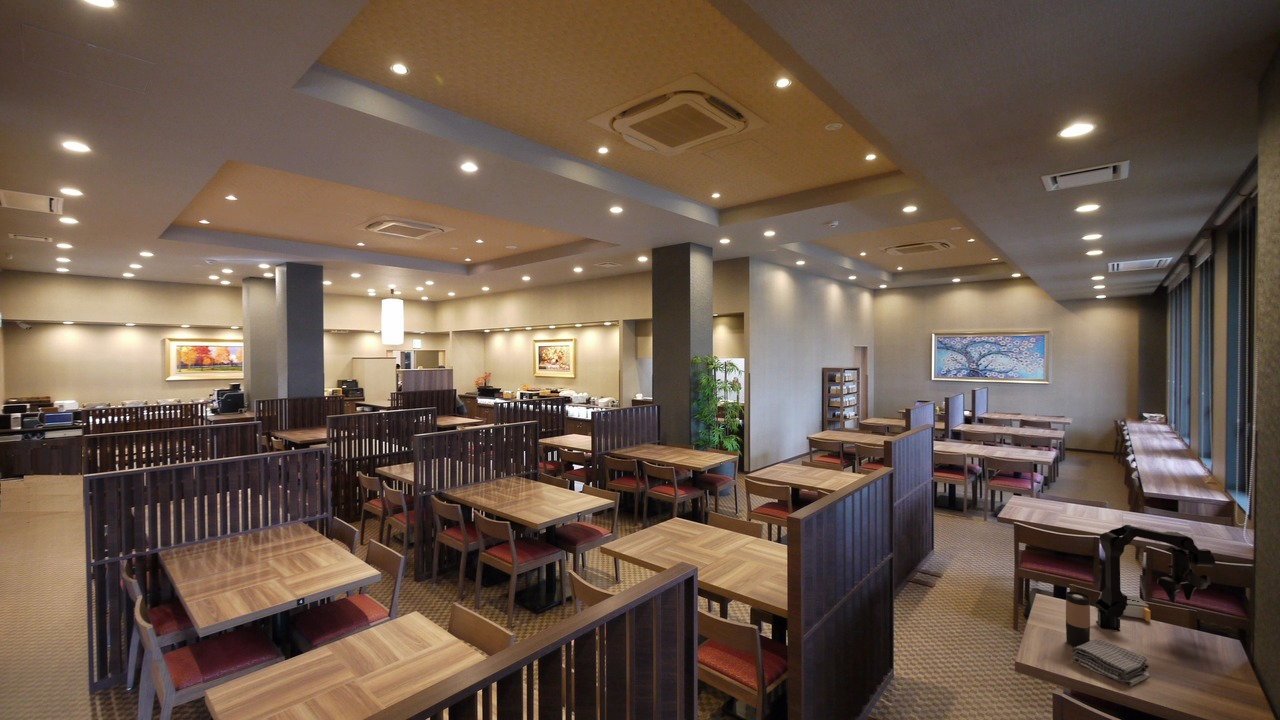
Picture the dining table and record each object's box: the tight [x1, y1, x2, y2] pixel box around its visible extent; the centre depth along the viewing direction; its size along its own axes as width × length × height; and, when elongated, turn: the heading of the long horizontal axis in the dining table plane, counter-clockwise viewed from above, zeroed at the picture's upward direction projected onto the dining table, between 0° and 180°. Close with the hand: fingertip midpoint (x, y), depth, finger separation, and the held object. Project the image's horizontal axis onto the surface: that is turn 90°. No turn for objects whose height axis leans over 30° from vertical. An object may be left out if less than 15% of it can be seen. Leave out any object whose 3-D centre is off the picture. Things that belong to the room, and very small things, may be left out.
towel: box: [1071, 638, 1151, 687], centre depth 201 cm, size 15×18×8 cm
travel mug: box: [1065, 590, 1091, 648], centre depth 219 cm, size 8×8×20 cm
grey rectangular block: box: [1123, 605, 1152, 622], centre depth 240 cm, size 8×4×5 cm, turn 67°
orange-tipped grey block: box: [1098, 591, 1150, 620], centre depth 247 cm, size 15×10×7 cm, turn 67°
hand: (1180, 601), depth 229 cm, fingers open, 9 cm apart
